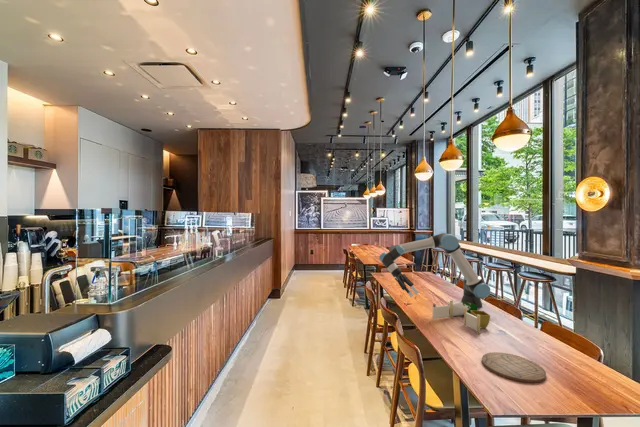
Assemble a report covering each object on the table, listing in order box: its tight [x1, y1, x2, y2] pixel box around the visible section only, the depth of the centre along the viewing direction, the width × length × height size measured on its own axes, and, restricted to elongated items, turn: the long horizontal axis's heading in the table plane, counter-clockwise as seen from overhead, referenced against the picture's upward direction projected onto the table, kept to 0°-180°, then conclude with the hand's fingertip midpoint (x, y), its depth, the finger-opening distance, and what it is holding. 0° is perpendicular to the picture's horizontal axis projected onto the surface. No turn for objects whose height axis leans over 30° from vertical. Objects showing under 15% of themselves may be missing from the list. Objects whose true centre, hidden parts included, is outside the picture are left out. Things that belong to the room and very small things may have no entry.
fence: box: [449, 300, 481, 335], centre depth 189 cm, size 28×3×12 cm, turn 10°
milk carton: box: [447, 301, 479, 317], centre depth 209 cm, size 9×9×20 cm
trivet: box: [481, 351, 547, 385], centre depth 135 cm, size 25×25×2 cm
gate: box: [432, 303, 450, 320], centre depth 200 cm, size 13×2×10 cm, turn 106°
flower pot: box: [470, 310, 491, 329], centre depth 187 cm, size 9×9×9 cm
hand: (414, 294), depth 210 cm, fingers open, 9 cm apart
